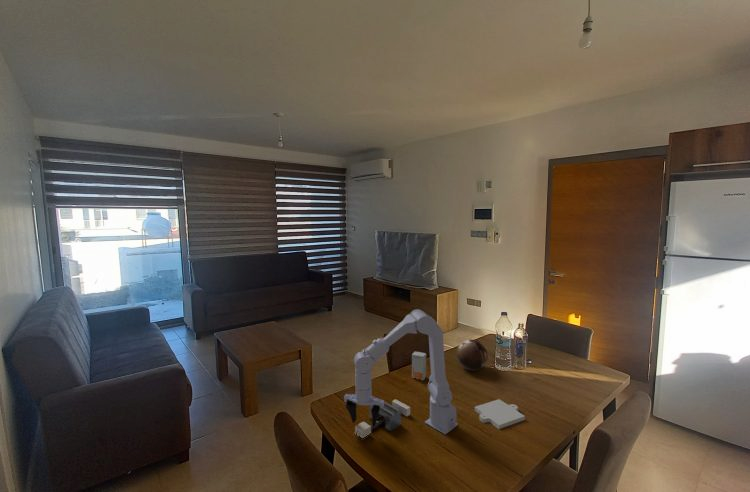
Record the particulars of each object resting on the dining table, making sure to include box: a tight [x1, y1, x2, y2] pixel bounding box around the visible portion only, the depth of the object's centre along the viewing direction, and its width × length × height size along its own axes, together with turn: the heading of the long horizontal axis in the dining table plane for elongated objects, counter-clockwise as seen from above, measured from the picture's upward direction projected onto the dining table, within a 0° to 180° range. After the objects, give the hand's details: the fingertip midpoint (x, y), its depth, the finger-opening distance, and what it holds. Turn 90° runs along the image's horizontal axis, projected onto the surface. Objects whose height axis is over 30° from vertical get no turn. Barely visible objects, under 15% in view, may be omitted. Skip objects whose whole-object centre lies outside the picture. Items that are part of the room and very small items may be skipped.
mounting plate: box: [474, 398, 526, 430], centre depth 129 cm, size 18×13×2 cm
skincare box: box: [411, 351, 427, 381], centre depth 159 cm, size 6×4×12 cm
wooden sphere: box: [456, 339, 489, 372], centre depth 167 cm, size 15×15×15 cm
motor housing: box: [368, 400, 402, 432], centre depth 126 cm, size 11×6×6 cm, turn 43°
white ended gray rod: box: [353, 399, 411, 439], centre depth 124 cm, size 8×24×3 cm, turn 133°
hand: (364, 422), depth 118 cm, fingers open, 7 cm apart
